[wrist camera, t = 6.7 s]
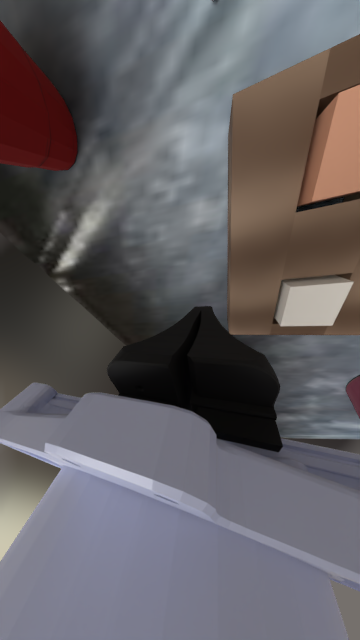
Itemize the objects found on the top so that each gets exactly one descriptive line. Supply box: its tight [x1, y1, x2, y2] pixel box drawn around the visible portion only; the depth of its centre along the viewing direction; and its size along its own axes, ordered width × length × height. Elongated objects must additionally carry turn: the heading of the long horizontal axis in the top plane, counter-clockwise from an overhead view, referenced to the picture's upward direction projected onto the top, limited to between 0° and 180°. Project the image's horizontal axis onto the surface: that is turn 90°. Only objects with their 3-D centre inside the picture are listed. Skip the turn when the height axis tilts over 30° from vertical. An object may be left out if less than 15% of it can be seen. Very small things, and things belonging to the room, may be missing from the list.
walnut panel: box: [227, 34, 360, 335], centre depth 12 cm, size 18×14×4 cm
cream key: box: [274, 275, 354, 326], centre depth 14 cm, size 4×4×4 cm
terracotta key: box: [297, 85, 360, 207], centre depth 9 cm, size 4×4×4 cm
